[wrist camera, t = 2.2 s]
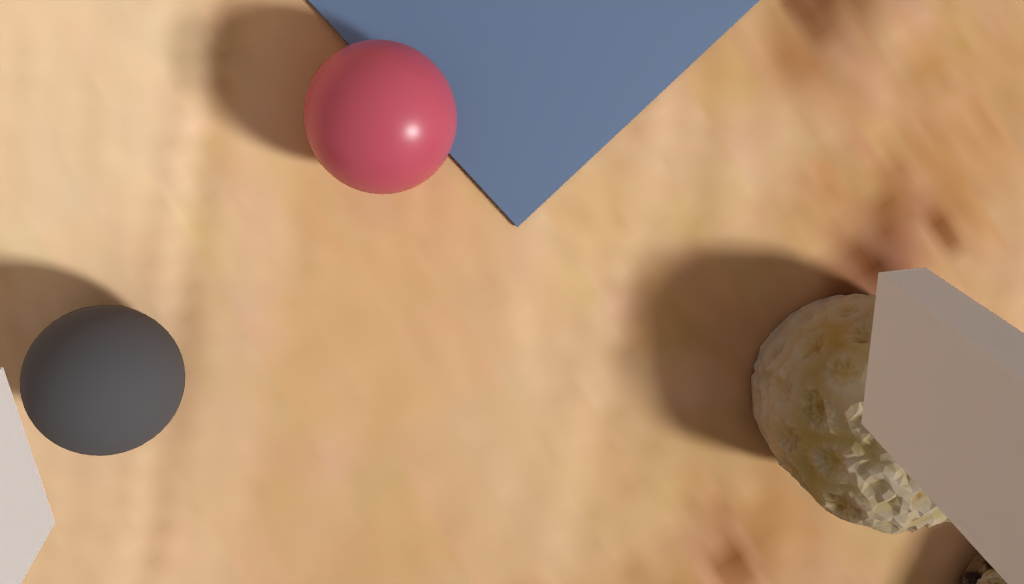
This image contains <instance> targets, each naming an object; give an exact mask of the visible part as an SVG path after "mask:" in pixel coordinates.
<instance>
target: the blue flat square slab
mask: <svg viewBox="0 0 1024 584" xmlns="http://www.w3.org/2000/svg"><path fill="white" fill-rule="evenodd" d="M308 1H309V2H310V3H311V4H312V5H313V6H314V7H315V8H316V10H317V11H318V12H319V13H320V14H321V15H322V16H323V17H324V18H325V19H326V20H327V21H328V23H329V24H330V25H331V26H332V27H333V28H334V29H335V30H336V31H337V32H338V33H339V34H340V36H341V37H342V38H343V39H344V40H345V41H346V42H347V43H348V44H349V45H351V44H353V43H357V42H360V41H365V40H372V39H384V40H392V41H396V42H400V43H403V44H406V45H408V46H411V47H413V48H415V49H416V50H418V51H420V52H421V53H423V54H424V55H425V56H427V57H428V58H429V59H430V60H431V61H432V62H433V63H434V64H435V65H436V66H437V67H438V68H439V69H440V71H441V72H442V73H443V75H444V76H445V78H446V80H447V81H448V83H449V85H450V88H451V90H452V92H453V96H454V99H455V103H456V109H457V128H456V134H455V139H454V142H453V145H452V148H451V150H450V152H449V154H450V155H451V156H452V157H453V158H454V159H455V160H456V161H457V162H458V163H459V165H460V166H461V167H462V168H463V169H464V170H465V171H466V172H467V173H468V174H469V175H470V176H471V178H472V179H473V180H474V181H475V182H476V183H477V184H478V185H479V186H480V187H481V188H482V189H483V191H484V192H485V193H486V194H487V195H488V196H489V197H490V198H491V199H492V200H493V201H494V202H495V204H496V205H497V206H498V207H499V208H500V209H501V210H502V211H503V212H504V213H505V214H506V215H507V217H508V218H509V219H510V220H511V221H512V222H513V223H514V224H515V225H516V226H517V227H518V226H519V225H520V224H521V223H522V222H523V221H524V220H526V219H527V218H528V217H529V216H530V215H531V214H532V213H533V212H534V211H535V210H536V209H537V208H538V207H539V206H540V205H542V204H543V203H544V202H545V201H546V200H547V199H548V198H549V197H550V196H551V195H552V194H553V193H554V192H555V191H557V190H558V189H559V188H560V187H561V186H562V185H563V184H564V183H565V182H566V181H567V180H568V179H569V178H570V177H571V176H573V175H574V174H575V173H576V172H577V171H578V170H579V169H580V168H581V167H582V166H583V165H584V164H585V163H586V162H587V161H589V160H590V159H591V158H592V157H593V156H594V155H595V154H596V153H597V152H598V151H599V150H600V149H601V148H602V147H603V146H605V145H606V144H607V143H608V142H609V141H610V140H611V139H612V138H613V137H614V136H615V135H616V134H617V133H618V132H619V131H621V130H622V129H623V128H624V127H625V126H626V125H627V124H628V123H629V122H630V121H631V120H632V119H633V118H634V117H635V116H637V115H638V114H639V113H640V112H641V111H642V110H643V109H644V108H645V107H646V106H647V105H648V104H649V103H650V102H651V101H653V100H654V99H655V98H656V97H657V96H658V95H659V94H660V93H661V92H662V91H663V90H664V89H665V88H666V87H667V86H669V85H670V84H671V83H672V82H673V81H674V80H675V79H676V78H677V77H678V76H679V75H680V74H681V73H682V72H683V71H685V70H686V69H687V68H688V67H689V66H690V65H691V64H692V63H693V62H694V61H695V60H696V59H697V58H698V57H699V56H701V55H702V54H703V53H704V52H705V51H706V50H707V49H708V48H709V47H710V46H711V45H712V44H713V43H714V42H715V41H717V40H718V39H719V38H720V37H721V36H722V35H723V34H724V33H725V32H726V31H727V30H728V29H729V28H730V27H732V26H733V25H734V24H735V23H736V22H737V21H738V20H739V19H740V18H741V17H742V16H743V15H744V14H745V13H746V12H748V11H749V10H750V9H751V8H752V7H753V6H754V5H755V4H756V3H757V2H758V1H759V0H308Z"/></svg>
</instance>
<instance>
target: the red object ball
mask: <svg viewBox="0 0 1024 584" xmlns="http://www.w3.org/2000/svg"><path fill="white" fill-rule="evenodd" d="M304 126H305V131H306V135H307V138H308V141H309V144H310V146H311V148H312V150H313V153H314V154H315V156H316V157H317V159H318V160H319V162H320V163H321V164H322V166H323V167H324V168H325V169H326V170H327V171H328V172H329V173H330V174H331V175H332V176H333V177H335V178H336V179H338V180H339V181H340V182H342V183H344V184H346V185H348V186H349V187H351V188H354V189H357V190H360V191H363V192H368V193H374V194H392V193H398V192H402V191H405V190H408V189H411V188H413V187H415V186H417V185H419V184H421V183H422V182H424V181H426V180H427V179H428V178H429V177H431V176H432V175H433V174H434V173H435V172H436V171H437V170H438V169H439V168H440V167H441V165H442V164H443V162H444V161H445V160H446V158H447V156H448V154H449V152H450V150H451V148H452V145H453V142H454V139H455V134H456V128H457V109H456V103H455V99H454V96H453V92H452V90H451V88H450V85H449V83H448V81H447V80H446V78H445V76H444V75H443V73H442V72H441V71H440V69H439V68H438V67H437V66H436V65H435V64H434V63H433V62H432V61H431V60H430V59H429V58H428V57H427V56H425V55H424V54H423V53H421V52H420V51H418V50H416V49H415V48H413V47H411V46H408V45H406V44H403V43H400V42H396V41H392V40H384V39H372V40H365V41H360V42H357V43H353V44H351V45H348V46H346V47H344V48H342V49H340V50H339V51H337V52H336V53H334V54H333V55H332V56H331V57H329V58H328V59H327V60H326V61H325V62H324V63H323V64H322V65H321V66H320V68H319V69H318V71H317V72H316V74H315V75H314V77H313V79H312V81H311V83H310V85H309V88H308V91H307V94H306V98H305V103H304Z"/></svg>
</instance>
